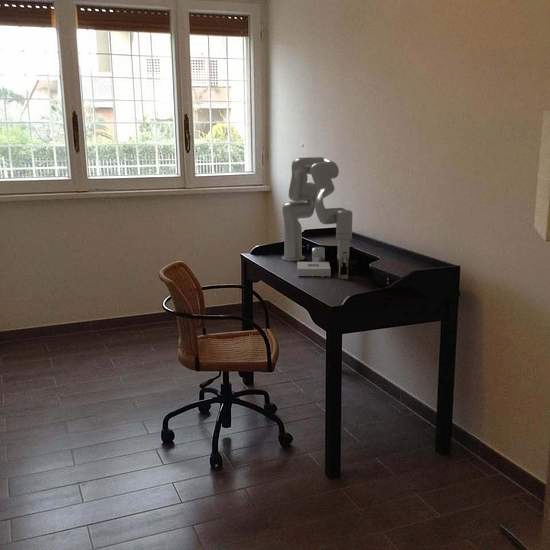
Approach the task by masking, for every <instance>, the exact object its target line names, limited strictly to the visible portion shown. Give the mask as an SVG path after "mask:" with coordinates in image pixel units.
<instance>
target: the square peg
mask: <svg viewBox="0 0 550 550" xmlns="http://www.w3.org/2000/svg"><path fill="white" fill-rule="evenodd" d="M347 259H348V258H347ZM342 260H343V259H342ZM342 263H343V262H342ZM340 267H341V260H340V261H339V268H338V279H339V278H341V279H340V280H349V279H348V278H349V274H348V261H347V275H341V274H340Z"/></svg>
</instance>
